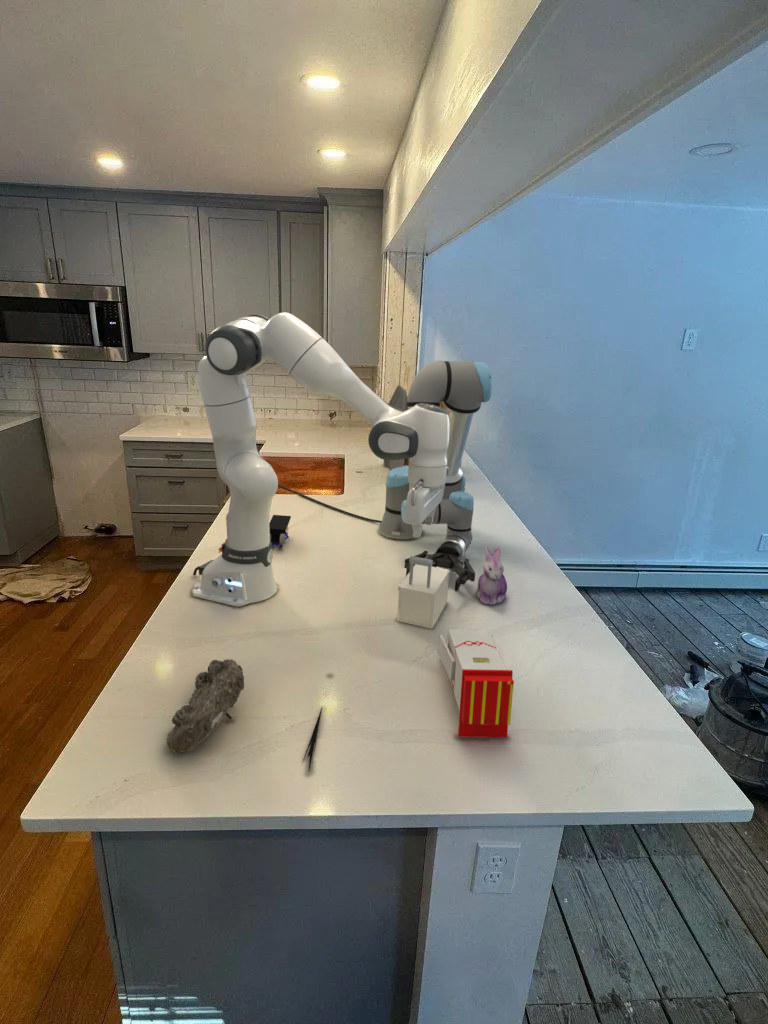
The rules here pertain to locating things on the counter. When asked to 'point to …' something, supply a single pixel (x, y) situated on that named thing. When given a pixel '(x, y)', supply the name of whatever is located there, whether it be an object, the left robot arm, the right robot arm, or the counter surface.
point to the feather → (313, 740)
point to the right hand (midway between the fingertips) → (431, 581)
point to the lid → (423, 578)
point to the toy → (478, 682)
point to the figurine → (492, 579)
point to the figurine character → (279, 529)
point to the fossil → (206, 705)
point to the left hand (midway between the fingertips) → (422, 530)
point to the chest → (422, 607)
